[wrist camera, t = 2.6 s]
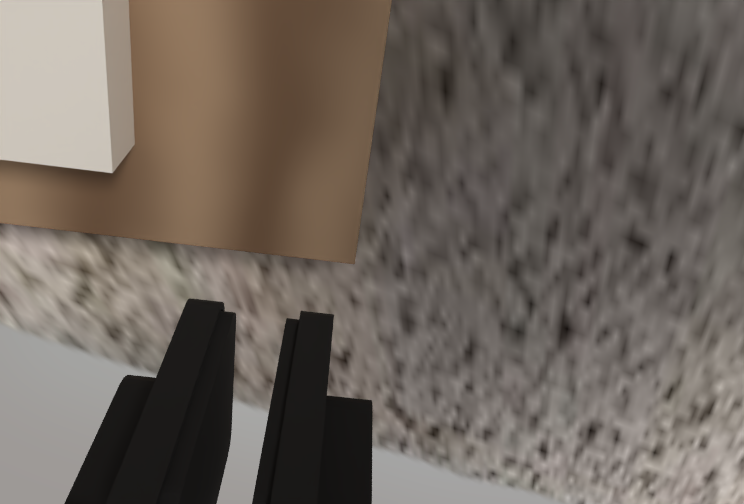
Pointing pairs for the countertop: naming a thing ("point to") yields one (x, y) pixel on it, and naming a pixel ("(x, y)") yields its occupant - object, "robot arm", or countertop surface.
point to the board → (231, 131)
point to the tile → (66, 83)
